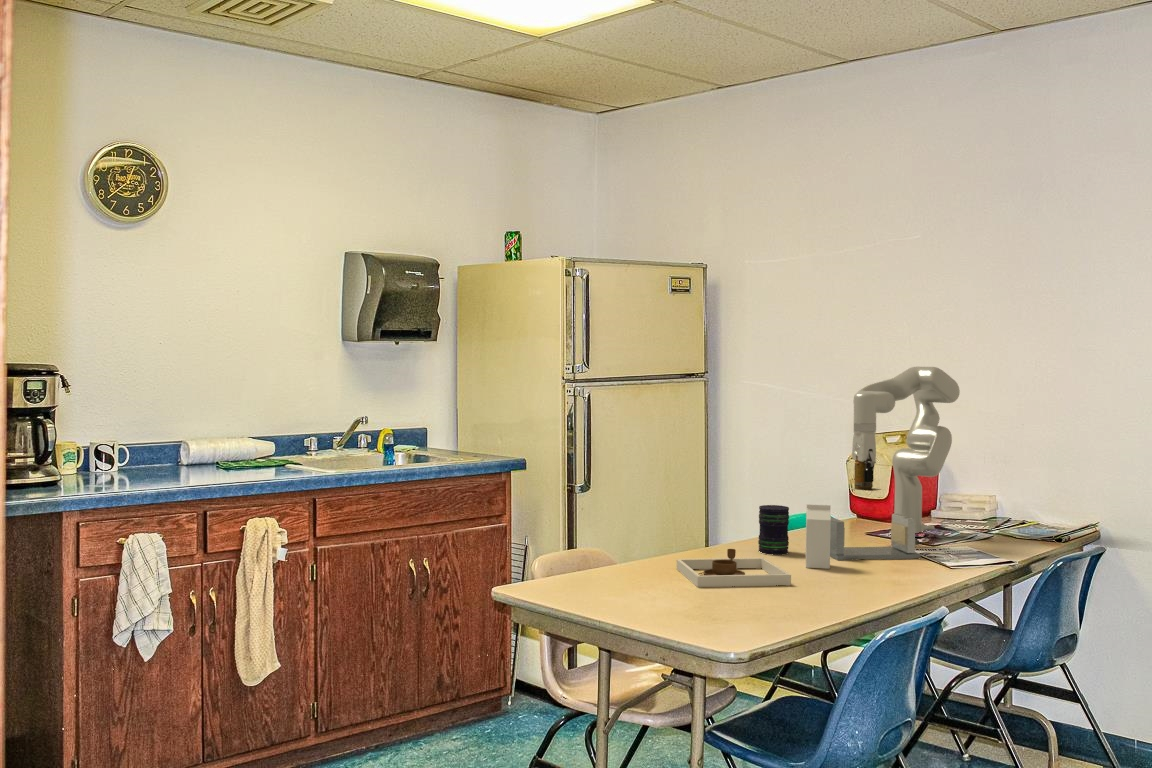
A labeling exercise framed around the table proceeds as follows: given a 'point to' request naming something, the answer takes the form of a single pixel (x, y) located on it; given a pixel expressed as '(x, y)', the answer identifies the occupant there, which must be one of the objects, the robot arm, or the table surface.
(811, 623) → the table surface
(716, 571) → the place setting
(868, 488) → the condiment
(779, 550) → the storage jar
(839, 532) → the vise base
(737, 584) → the serving tray rim
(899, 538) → the block
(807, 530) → the milk carton
